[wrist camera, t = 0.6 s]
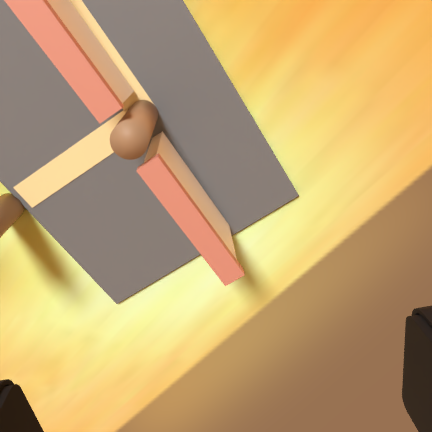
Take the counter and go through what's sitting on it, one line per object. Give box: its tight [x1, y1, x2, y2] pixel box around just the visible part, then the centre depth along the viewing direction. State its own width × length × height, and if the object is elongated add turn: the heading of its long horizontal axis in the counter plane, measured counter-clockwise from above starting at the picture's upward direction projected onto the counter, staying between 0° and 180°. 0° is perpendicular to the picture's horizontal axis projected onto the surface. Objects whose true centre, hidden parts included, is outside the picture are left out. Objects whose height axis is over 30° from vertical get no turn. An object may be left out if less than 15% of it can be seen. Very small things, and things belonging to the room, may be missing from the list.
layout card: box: [0, 0, 299, 304], centre depth 32 cm, size 20×26×1 cm
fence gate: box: [136, 131, 245, 286], centre depth 29 cm, size 10×2×8 cm, turn 33°
